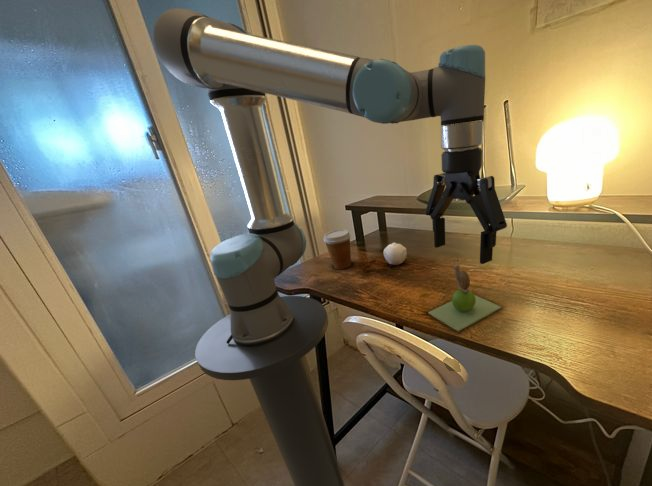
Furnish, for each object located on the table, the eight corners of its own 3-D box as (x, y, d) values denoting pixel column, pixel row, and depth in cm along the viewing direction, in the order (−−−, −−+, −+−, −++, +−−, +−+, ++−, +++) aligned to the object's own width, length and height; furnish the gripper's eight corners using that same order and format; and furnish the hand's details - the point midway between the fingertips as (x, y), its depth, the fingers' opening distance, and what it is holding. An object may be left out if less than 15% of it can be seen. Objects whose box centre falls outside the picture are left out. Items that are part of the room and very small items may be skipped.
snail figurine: (466, 300, 76) (466, 256, 71) (480, 312, 70) (480, 266, 65) (446, 305, 75) (444, 261, 70) (458, 318, 70) (457, 271, 64)
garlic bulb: (407, 258, 106) (405, 237, 103) (408, 267, 100) (406, 245, 96) (385, 260, 107) (382, 240, 104) (384, 269, 101) (381, 247, 97)
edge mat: (457, 332, 66) (457, 330, 66) (428, 313, 74) (427, 312, 74) (501, 308, 71) (501, 306, 71) (469, 293, 79) (469, 292, 79)
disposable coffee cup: (345, 272, 103) (338, 239, 98) (324, 269, 108) (316, 237, 103) (360, 261, 110) (355, 229, 105) (340, 259, 115) (333, 228, 110)
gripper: (536, 144, 49) (523, 264, 58) (433, 147, 68) (435, 236, 78) (504, 150, 45) (496, 276, 55) (406, 152, 65) (412, 244, 75)
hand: (461, 253), depth 66 cm, fingers open, 13 cm apart
